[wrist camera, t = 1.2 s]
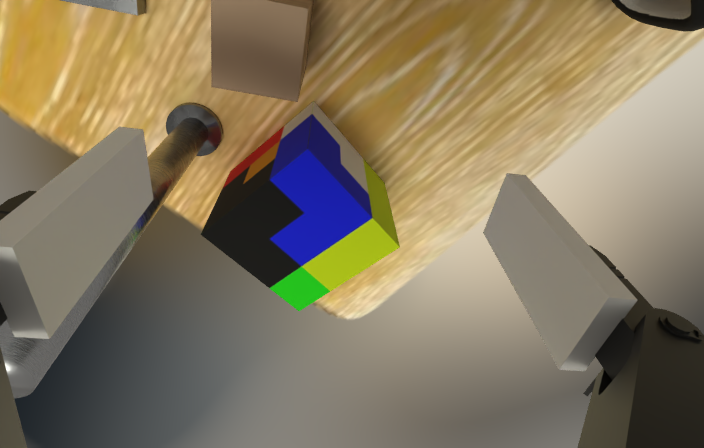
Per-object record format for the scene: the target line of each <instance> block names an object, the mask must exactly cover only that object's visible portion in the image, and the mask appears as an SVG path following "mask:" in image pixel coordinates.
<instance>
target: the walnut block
mask: <svg viewBox="0 0 704 448" xmlns="http://www.w3.org/2000/svg"><path fill="white" fill-rule="evenodd" d="M313 2H314V0H211V59H212V87H215V88H221V89H226V90H232V91H238V92H244V93H249V94H255V95H261V96H267V97H272V98H278V99H284V100H290V101H295V102H298V98H299V94H300V90H301V85H302V81H303V77H304V73H305V69H306V61H307V52H308V44H309V35H310V27H311V19H312V10H313Z"/></svg>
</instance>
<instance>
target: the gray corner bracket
mask: <svg viewBox="0 0 704 448" xmlns="http://www.w3.org/2000/svg"><path fill="white" fill-rule="evenodd" d="M61 1H66V2H72V3H77V4H82V5H87V6H92V7H97V8H103V9H108V10H113V11H118V12H123V13H128V14H134V15H141V14H144V13H146V4H145V0H61Z"/></svg>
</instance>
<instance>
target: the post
mask: <svg viewBox="0 0 704 448" xmlns="http://www.w3.org/2000/svg"><path fill="white" fill-rule="evenodd" d="M166 129H167V134H168V136H167V137H166V138H165V139H164V141H163V142H162V143H161V144H160V145H159V146H158V147H157V148H156V149H155V150H154V151H153V152H152V153H151V155H150V156H149V157H148V158H147V159H148V166H149V172H150V179H151V186H152V193H153V201H152V202H151V203H150V205H149V206H148V207H147V209H146V210H145V211H144V213H143V214H142V215H141V217H140V218H139V219H138V221H137V222H136V223H135V225H134V226H133V227H132V229H131V230H130V232H129V233H128V234H127V236H126V237H125V238H124V240H123V241H122V242H121V244H120V245H119V246H118V248H117V249H116V250H115V252H114V253H113V254H112V256H111V257H110V258H109V260H108V261H107V262H106V264H105V265H104V266H103V268H102V269H101V271H100V272H99V273H98V275H97V276H96V277H95V279H94V280H93V281H92V283H91V284H90V285H89V287H88V288H87V289H86V291H85V292H84V293H83V295H82V296H81V297H80V299H79V300H78V301H77V303H76V304H75V305H74V307H73V308H72V310H71V311H70V312H69V314H68V315H67V316H66V318H65V319H64V320H63V322H62V323H61V324H60V326H59V327H58V328H57V330H56V331H55V332H54V334H53V335H52V336H51V338H50V339H39V338H23V337H14V335H13V333H12V330H11V328H10V326H9V324H8V322H7V320H6V321H5V322H4V323H3V324H2V325H1V326H0V347H1V351H2V355H3V359H4V362H5V366H6V370H7V374H8V378H9V381H10V385H11V389H12V393H13V397H14V398H20V397H24V396H27V395H29V394H30V393H32V392H33V391H34V389H35V388H36V386H37V385H38V384H39V382H40V381H41V379H42V378H43V376H44V375H45V373H46V372H47V371H48V369H49V368H50V366H51V365H52V363H53V362H54V360H55V359H56V358H57V356H58V355H59V353H60V352H61V350H62V349H63V347H64V346H65V344H66V343H67V342H68V340H69V339H70V337H71V336H72V334H73V333H74V332H75V330H76V329H77V327H78V325H79V324H80V323H81V321H82V320H83V319H84V317H85V316H86V314H87V313H88V311H89V310H90V308H91V307H92V306H93V304H94V303H95V301H96V300H97V298H98V297H99V295H100V294H101V292H102V291H103V290H104V288H105V287H106V285H107V284H108V282H109V281H110V279H111V278H112V276H113V275H114V274H115V272H116V271H117V269H118V268H119V266H120V265H121V264H122V262H123V261H124V259H125V258H126V256H127V255H128V253H129V252H130V251H131V249H132V248H133V246H134V245H135V243H136V242H137V240H138V239H139V238H140V236H141V234H142V233H143V232H144V230H145V229H146V227H147V226H148V225H149V223H150V222H151V220H152V219H153V217H154V216H155V214H156V213H157V212H158V210H159V209H160V207H161V206H162V204H163V203H164V201H165V200H166V199H167V197H168V196H169V194H170V193H171V191H172V190H173V188H174V187H175V186H176V184H177V183H178V181H179V180H180V178H181V177H182V175H183V174H184V172H185V171H186V170H187V168H188V167H189V165H190V164H191V162H192V161H193V159H194V158H195V157H196V156H204V155H208V154H210V153H212V152H213V151H214V150H216V148H217V147H218V145H219V144H220V142H221V140H222V134H223V132H222V126H221V123H220V121H219V119H218V118H217V116H216V115H215V114H214V113H213V112H212V111H211V110H210V109H208V108H206V107H205V106H203V105H200V104H196V103H185V104H181V105H179V106H178V107H176V108H175V109H174V110H173V111H172V112H171V113H170V114H169V116H168V118H167V122H166Z"/></svg>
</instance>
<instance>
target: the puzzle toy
mask: <svg viewBox="0 0 704 448" xmlns="http://www.w3.org/2000/svg"><path fill="white" fill-rule="evenodd" d="M201 235H202V236H203V237H205V238H206V239H207V240H209V241H210V242H211V243H212V244H214V245H215V246H216V247H217V248H219V249H220V250H221V251H223V252H224V253H225V254H226V255H228V256H229V257H230V258H232V259H233V260H234V261H235V262H237V263H238V264H239V265H241V266H242V267H243V268H244V269H246V270H247V271H248V272H250V273H251V274H252V275H253V276H255V277H256V278H257V279H258V280H260V281H261V282H262V283H264V284H265V285H266V286H267V287H269V288H270V289H271V290H272V291H274V292H275V293H276V294H278V295H279V296H280V297H281V298H283V299H284V300H285V301H287V302H288V303H289V304H290V305H292V306H293V307H294V308H296V309H297V310H298V311H300V310H302V309H303V308H305V307H306V306H308V305H310V304H311V303H313V302H314V301H316V300H317V299H319V298H321V297H322V296H324V295H325V294H327V293H328V292H330V291H332V290H333V289H335V288H336V287H338V286H340V285H341V284H343V283H344V282H346V281H347V280H349V279H351V278H352V277H354V276H355V275H357V274H358V273H360V272H362V271H363V270H365V269H366V268H368V267H369V266H371V265H373V264H374V263H376V262H377V261H379V260H381V259H382V258H384V257H385V256H387V255H388V254H390V253H392V252H393V251H395V250H396V249H398V248H399V247H400V246H399V242H398V237H397V233H396V229H395V225H394V221H393V216H392V212H391V208H390V204H389V200H388V196H387V191H386V187H385V183H384V182H383V181H382V180H381V179H380V178H379V176H378V175H377V174H376V173H375V172H374V171H373V169H372V168H371V167H370V166H369V165H368V164H367V162H366V161H365V160H364V159H363V158H362V157H361V155H360V154H359V153H358V152H357V151H356V150H355V148H354V147H353V146H352V145H351V144H350V143H349V141H348V140H347V139H346V138H345V137H344V136H343V134H342V133H341V132H340V131H339V130H338V129H337V127H336V126H335V125H334V124H333V123H332V122H331V121H330V119H329V118H328V117H327V116H326V115H325V114H324V112H323V111H322V110H321V109H320V108H319V107H318V105H317V104H316V103H315V102H314V101H313V102H312V103H311V104H309V105H308V106H307V107H306V108H305V109H304V110H302V111H301V112H300V113H299V114H298V115H297V116H295V117H294V118H293V119H292V120H291V121H289V122H288V123H287V124H286V125H285V126H284V127H282V128H281V129H280V130H279V131H278V132H276V133H275V134H274V135H273V136H272V137H271V138H269V139H268V140H267V141H266V142H265V143H264V144H262V145H261V146H260V147H259V148H258V149H256V150H255V151H254V152H253V153H252V154H251V155H249V156H248V157H247V158H246V159H245V160H244V161H242V162H241V163H240V164H239V165H238V166H236V167H235V168H234V169H233V170H232V171H231V172H230V174H229V176H228V178H227V180H226V182H225V185H224V187H223V189H222V191H221V193H220V195H219V197H218V199H217V201H216V203H215V206H214V208H213V210H212V212H211V214H210V216H209V218H208V220H207V222H206V224H205V227H204V229H203V231H202V233H201Z"/></svg>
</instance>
